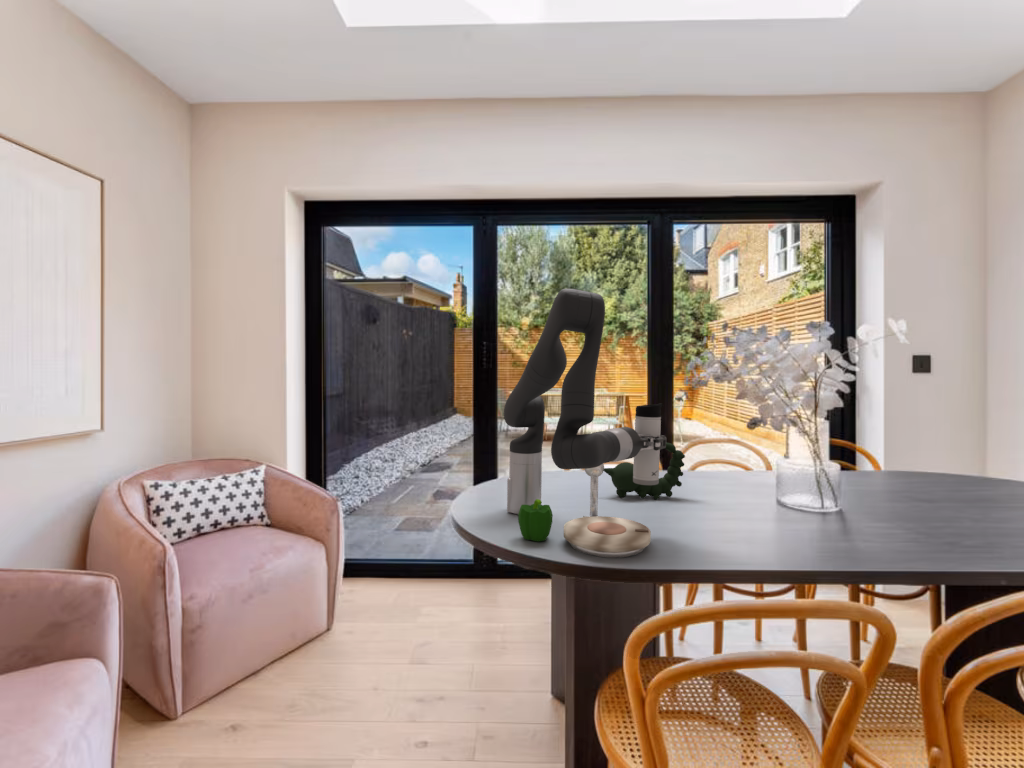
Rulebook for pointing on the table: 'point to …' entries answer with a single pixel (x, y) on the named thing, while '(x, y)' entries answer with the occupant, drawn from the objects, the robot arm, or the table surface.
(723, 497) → the table surface
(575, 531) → the turntable platter
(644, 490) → the toy figurine
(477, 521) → the table surface
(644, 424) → the travel mug
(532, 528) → the bell pepper
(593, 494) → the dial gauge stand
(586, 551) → the turntable base
